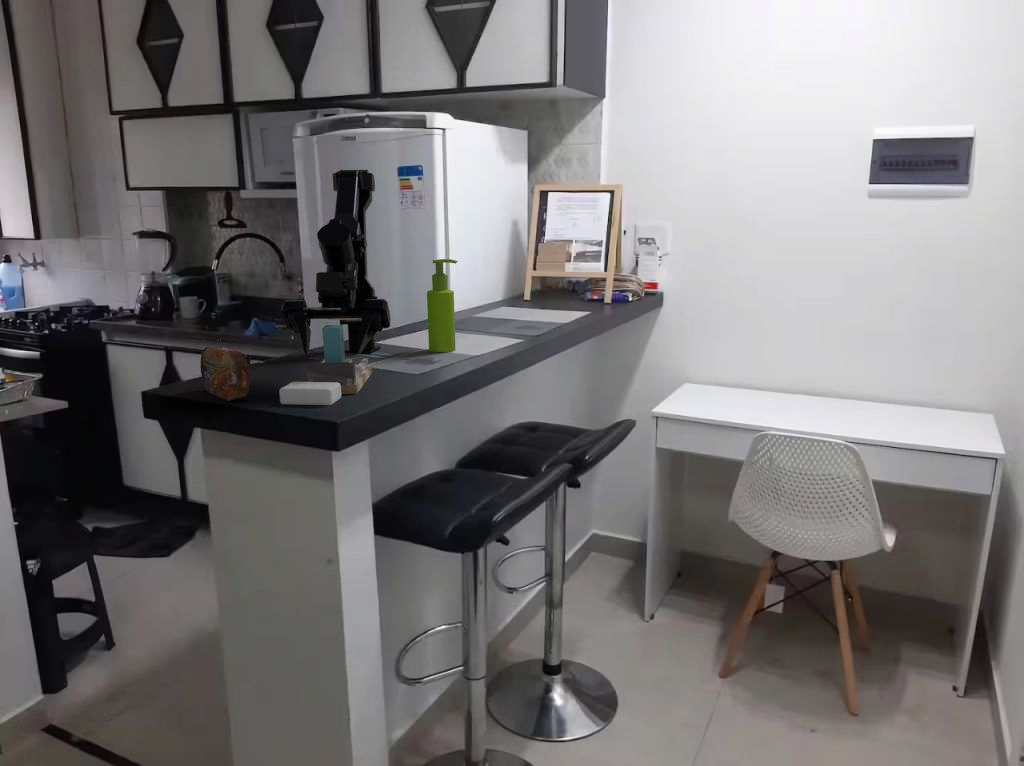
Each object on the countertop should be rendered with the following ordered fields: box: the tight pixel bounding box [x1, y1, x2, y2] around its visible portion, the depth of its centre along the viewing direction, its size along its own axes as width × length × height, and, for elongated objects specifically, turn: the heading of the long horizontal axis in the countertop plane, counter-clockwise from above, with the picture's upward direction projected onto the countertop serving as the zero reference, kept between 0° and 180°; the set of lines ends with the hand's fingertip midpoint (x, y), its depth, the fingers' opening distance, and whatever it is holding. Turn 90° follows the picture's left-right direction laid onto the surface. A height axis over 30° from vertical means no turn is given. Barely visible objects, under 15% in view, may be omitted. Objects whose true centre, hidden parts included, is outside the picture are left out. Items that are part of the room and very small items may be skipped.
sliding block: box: [320, 324, 353, 363], centre depth 135 cm, size 5×5×9 cm
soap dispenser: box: [426, 258, 459, 353], centre depth 167 cm, size 6×7×20 cm
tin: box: [199, 346, 250, 402], centre depth 130 cm, size 15×3×8 cm, turn 43°
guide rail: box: [305, 358, 373, 395], centre depth 139 cm, size 17×9×5 cm, turn 1°
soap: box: [279, 381, 342, 406], centre depth 127 cm, size 9×6×3 cm, turn 82°
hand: (332, 353), depth 133 cm, fingers open, 9 cm apart
